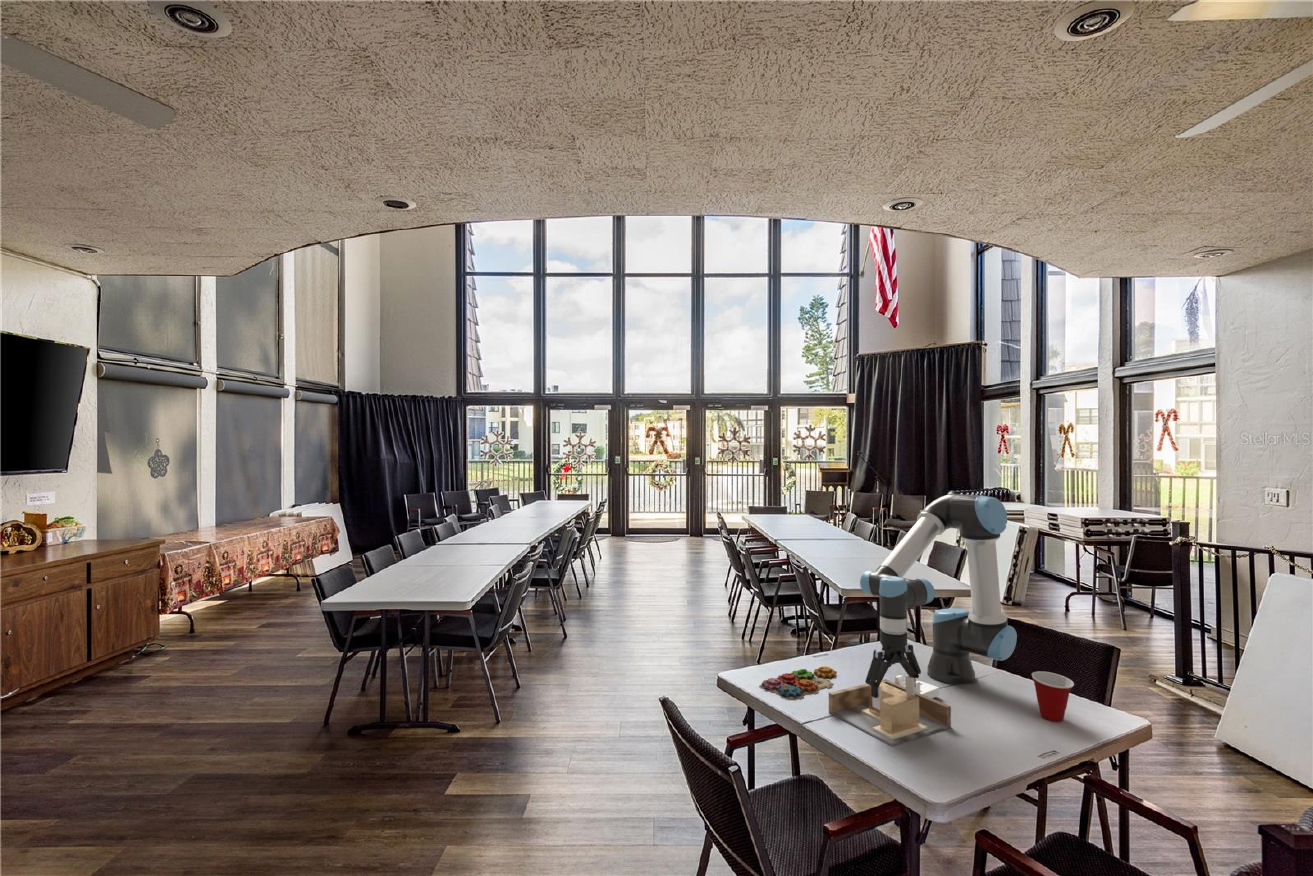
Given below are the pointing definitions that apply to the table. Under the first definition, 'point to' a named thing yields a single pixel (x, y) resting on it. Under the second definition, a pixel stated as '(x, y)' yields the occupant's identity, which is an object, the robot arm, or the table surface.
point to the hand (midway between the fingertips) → (893, 703)
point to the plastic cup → (1052, 694)
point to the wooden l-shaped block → (896, 709)
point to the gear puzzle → (799, 683)
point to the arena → (850, 710)
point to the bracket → (920, 687)
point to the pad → (895, 735)
